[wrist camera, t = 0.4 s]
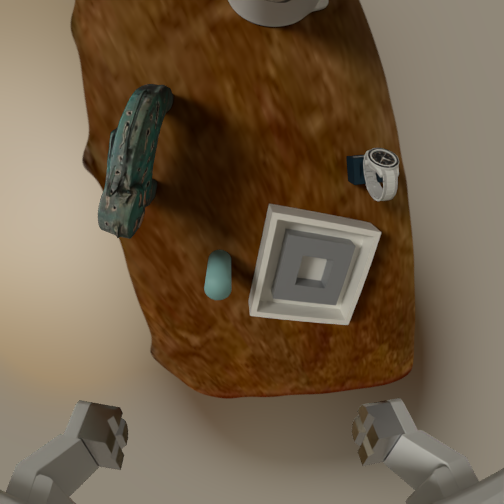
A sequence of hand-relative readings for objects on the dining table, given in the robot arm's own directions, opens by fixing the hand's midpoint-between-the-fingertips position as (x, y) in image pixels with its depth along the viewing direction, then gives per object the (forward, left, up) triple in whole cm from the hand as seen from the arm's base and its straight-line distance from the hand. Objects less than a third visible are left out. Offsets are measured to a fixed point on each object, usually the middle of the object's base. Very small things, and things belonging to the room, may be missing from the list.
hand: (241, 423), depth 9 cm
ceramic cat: (-3, -14, -45) cm, 47 cm away
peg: (+15, 0, -45) cm, 48 cm away
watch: (-6, +21, -45) cm, 50 cm away
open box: (+13, +16, -45) cm, 50 cm away
